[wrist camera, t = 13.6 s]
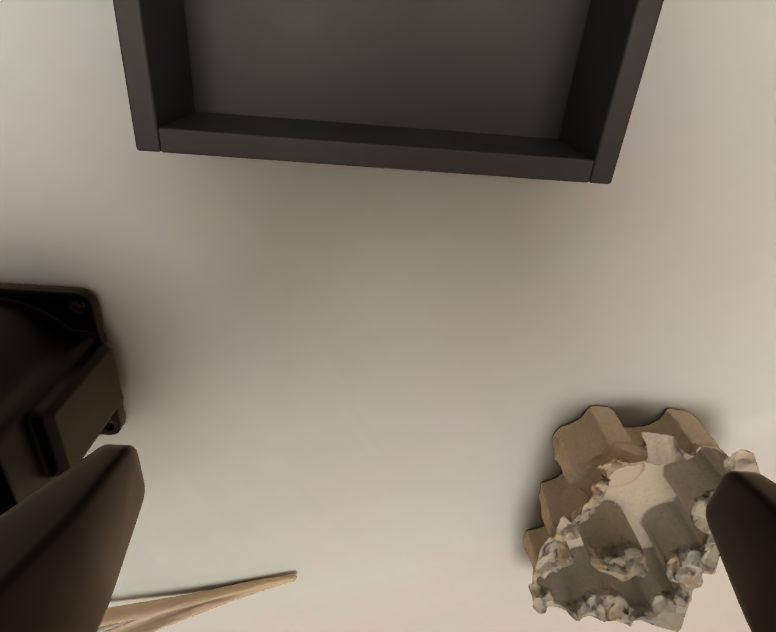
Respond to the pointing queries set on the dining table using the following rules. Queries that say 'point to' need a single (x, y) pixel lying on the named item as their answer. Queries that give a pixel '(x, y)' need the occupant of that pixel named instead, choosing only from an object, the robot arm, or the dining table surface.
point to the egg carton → (628, 518)
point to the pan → (390, 81)
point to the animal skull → (182, 606)
